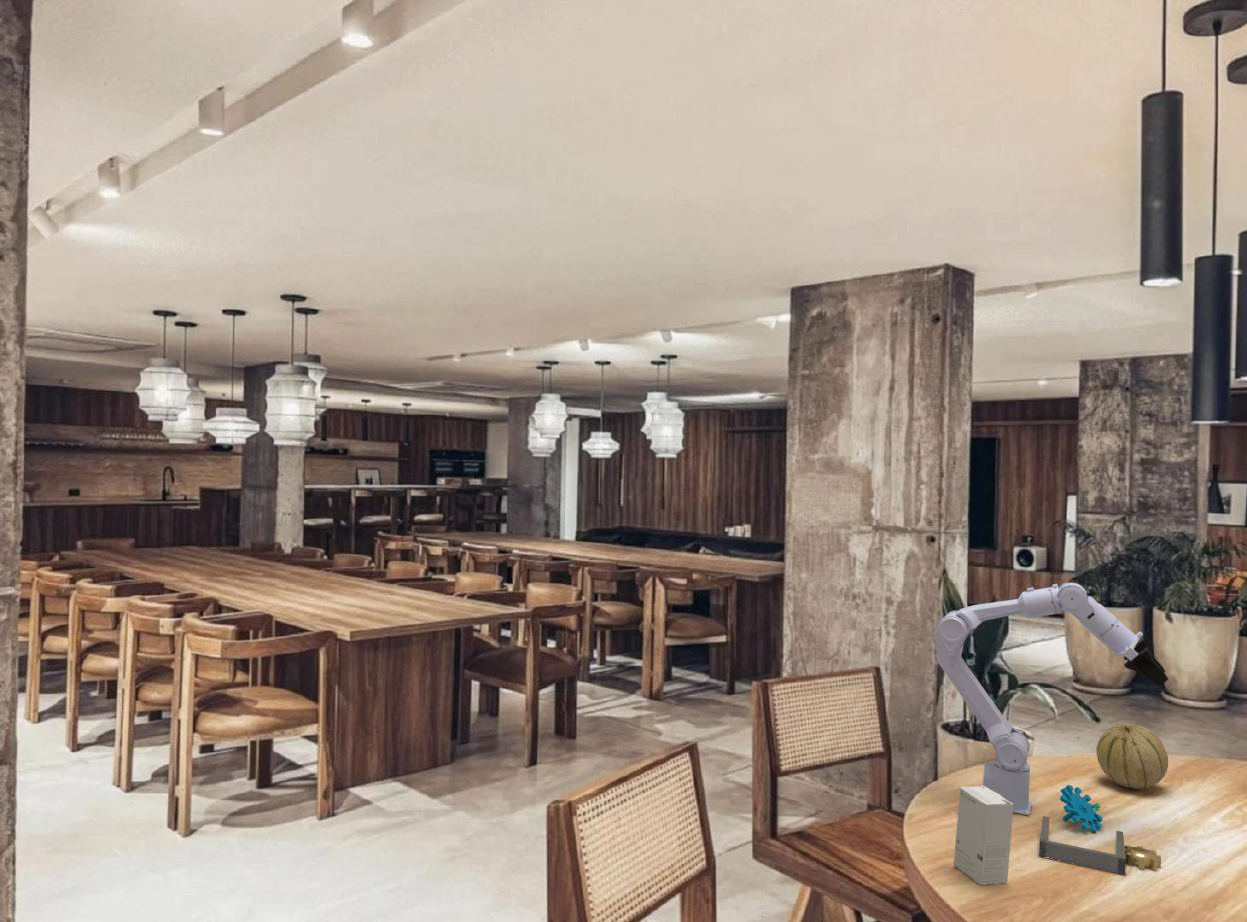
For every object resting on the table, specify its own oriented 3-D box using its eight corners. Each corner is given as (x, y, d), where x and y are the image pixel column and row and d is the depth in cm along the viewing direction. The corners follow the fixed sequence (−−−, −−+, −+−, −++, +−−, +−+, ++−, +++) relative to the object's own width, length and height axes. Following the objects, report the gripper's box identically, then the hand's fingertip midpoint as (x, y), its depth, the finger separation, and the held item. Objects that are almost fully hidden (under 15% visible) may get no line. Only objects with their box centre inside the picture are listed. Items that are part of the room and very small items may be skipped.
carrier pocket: (1038, 856, 170) (1039, 841, 170) (1042, 830, 183) (1042, 815, 183) (1163, 883, 161) (1164, 867, 161) (1158, 854, 173) (1158, 838, 173)
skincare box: (953, 866, 165) (956, 785, 165) (981, 863, 166) (984, 784, 166) (982, 887, 157) (985, 803, 157) (1011, 884, 158) (1014, 801, 158)
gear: (1082, 830, 180) (1056, 783, 186) (1061, 843, 183) (1036, 796, 190) (1117, 829, 184) (1090, 783, 191) (1096, 841, 188) (1070, 796, 195)
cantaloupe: (1167, 784, 213) (1170, 722, 213) (1166, 803, 200) (1168, 737, 200) (1097, 771, 221) (1100, 711, 221) (1092, 788, 208) (1094, 724, 208)
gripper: (1123, 621, 179) (1181, 672, 175) (1121, 611, 192) (1175, 658, 188) (1096, 644, 182) (1153, 695, 177) (1096, 633, 194) (1149, 680, 190)
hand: (1163, 678), depth 182 cm, fingers open, 7 cm apart
